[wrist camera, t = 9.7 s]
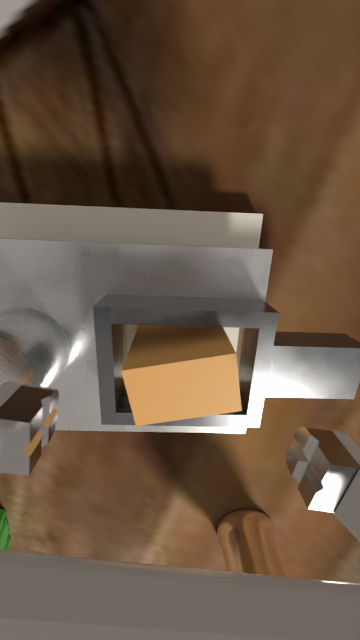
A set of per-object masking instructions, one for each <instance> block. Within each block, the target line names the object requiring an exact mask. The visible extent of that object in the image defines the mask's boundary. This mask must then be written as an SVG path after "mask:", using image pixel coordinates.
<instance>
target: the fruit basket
mask: <svg viewBox="0 0 360 640" xmlns="http://www.w3.org/2000/svg"><path fill="white" fill-rule="evenodd" d="M5 515H6V511H5V510H4V509H0V550H3V551H8V548H9V545H10V542H11V539H10V537H9V536H8V534H9V529H8V523H7V519H6V518H5Z"/></svg>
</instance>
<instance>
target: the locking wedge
mask: <svg viewBox="0 0 360 640" xmlns="http://www.w3.org/2000/svg"><path fill="white" fill-rule="evenodd" d="M121 372H122V376H123V379H124V383H125V387H126V391H127V394H128V398H129V402H130V406H131V409H132V413H133V417H134V421H135V424H136V426H142V425H148V424H155V423H162V422H169V421H176V420H183V419H190V418H197V417H204V416H211V415H218V414H225V413H231V412H238V411H242V407H241V397H240V387H239V377H238V367H237V357H236V352H235V350H234V348H233V346H232V344H231V342H230V340H229V338H228V336H227V334H226V332H225V330H224V328H223V327H201V326H168V325H139V326H138V329H137V331H136V334H135V337H134V339H133V342H132V344H131V347H130V349H129V352H128V355H127V357H126V360H125V362H124V365H123V367H122V370H121Z"/></svg>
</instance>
